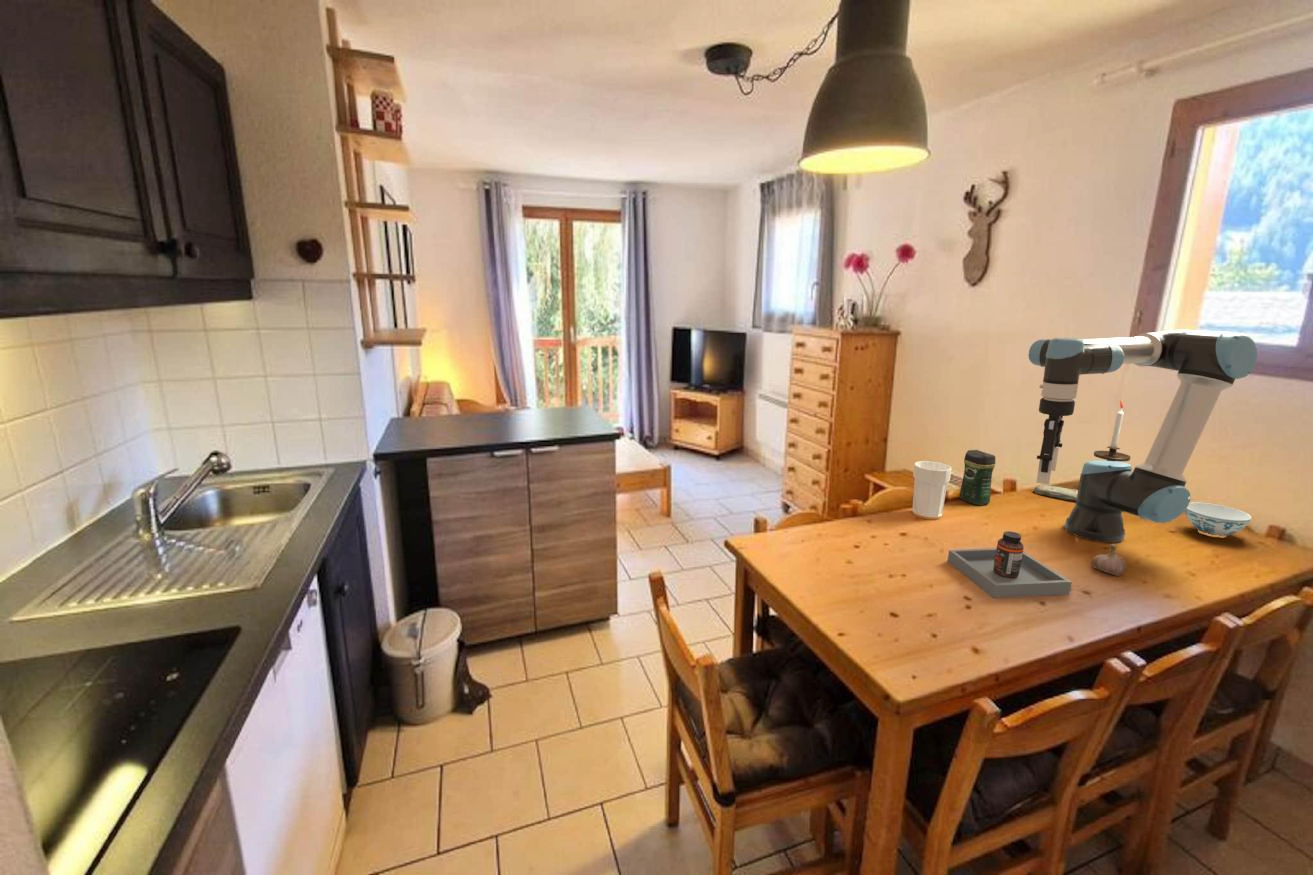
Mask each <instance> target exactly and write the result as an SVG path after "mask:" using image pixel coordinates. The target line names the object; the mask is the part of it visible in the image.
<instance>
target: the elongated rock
mask: <svg viewBox="0 0 1313 875" xmlns="http://www.w3.org/2000/svg"><path fill="white" fill-rule="evenodd" d="M1033 491H1034V493H1035V494H1036V495H1039V496H1045V497H1049V498H1055V499H1059V500H1064V501H1067V502H1069V501H1070V502H1073V503H1076V500H1077V494H1078V489H1075V488H1074V489H1073V488H1066V487H1060V486H1053V485H1051V484H1049V485H1048V484H1039V485H1035V487H1034V490H1033Z"/></svg>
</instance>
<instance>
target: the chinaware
mask: <svg viewBox="0 0 1313 875" xmlns="http://www.w3.org/2000/svg"><path fill="white" fill-rule="evenodd" d="M1184 514H1185V516H1186V519H1187V521H1188V522H1189V523H1190V524H1191V525H1192V526H1193V527H1194V529H1198V530H1199V531H1201V532H1203V533H1208V534H1211V535H1219V536H1225V535H1227V536H1229V535H1234V534H1237V533H1238V532H1240V531H1242V530H1243V529H1244V528H1246V527H1247V526H1248V525H1249V523H1250V522H1251V519H1252V516H1251V515H1250V514H1248V513H1247V512H1245V511H1242V510H1240V509H1237V508H1233V507H1230V506H1226V505H1221V504H1216V503H1215V504H1214V503H1208V502H1189V505H1188V507H1187V509H1186V510H1185V511H1184Z"/></svg>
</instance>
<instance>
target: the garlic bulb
mask: <svg viewBox="0 0 1313 875" xmlns="http://www.w3.org/2000/svg"><path fill="white" fill-rule="evenodd" d="M1116 548H1117V545H1115V544H1113V543H1112V544H1111V546H1110V549H1109V553H1107V554H1097V555H1096V556H1094V557H1093V558H1092V559H1091V561H1090V563H1091V565H1092V566H1093V568H1095V569H1097V570H1098V571H1102V572H1104V573H1106V574H1110V575H1112V576H1115V577H1120V576H1121V575H1123V574H1124V570H1125V568H1126V567H1127V566H1126V560H1125V559H1124V558H1123V557H1121V556H1119V555H1117V553H1116V550H1117V549H1116ZM1115 553H1116V554H1115Z"/></svg>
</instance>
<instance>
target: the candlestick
mask: <svg viewBox="0 0 1313 875" xmlns="http://www.w3.org/2000/svg"><path fill="white" fill-rule="evenodd" d="M1119 403H1120V406H1119V408H1120V409H1119V410H1118V411H1117V413H1116V416H1115V423H1114V428H1113V432H1112V437H1111V441H1110V442H1111V443H1110V446H1108V445H1107V446H1106V448H1108V449H1109V450H1094V452H1093V456H1094V457H1096V458H1099V459H1102V460H1105V461H1115V462H1129V461H1131V458H1132V457H1131V456H1130V455H1128V454H1126V453H1123V452H1118V451H1117V450H1120V449H1121V448H1120V447H1118V443H1119V438H1120V432H1121V428H1122V424H1123V419H1124V412H1123V408H1124V404H1123V402H1122V400H1120V401H1119Z"/></svg>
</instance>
